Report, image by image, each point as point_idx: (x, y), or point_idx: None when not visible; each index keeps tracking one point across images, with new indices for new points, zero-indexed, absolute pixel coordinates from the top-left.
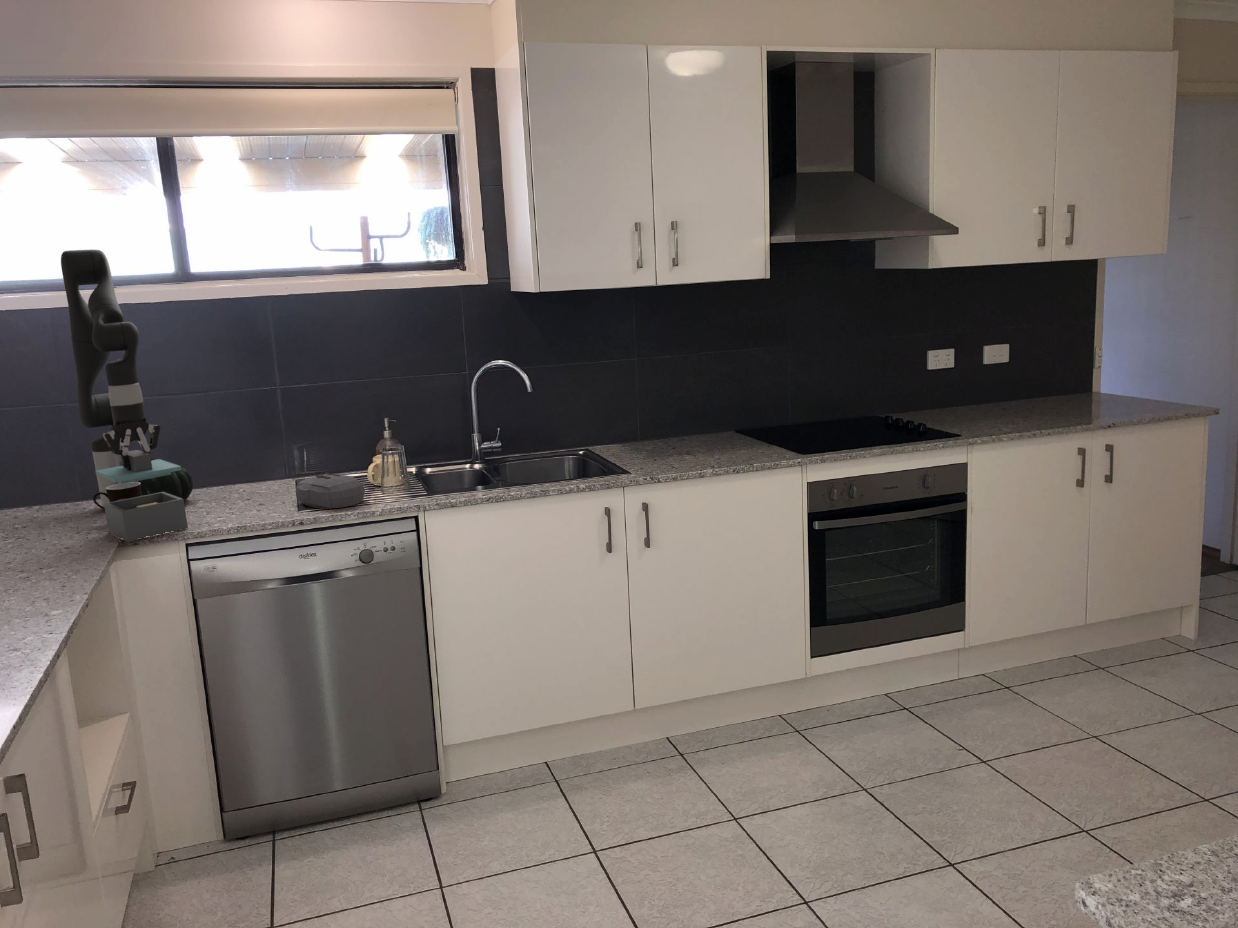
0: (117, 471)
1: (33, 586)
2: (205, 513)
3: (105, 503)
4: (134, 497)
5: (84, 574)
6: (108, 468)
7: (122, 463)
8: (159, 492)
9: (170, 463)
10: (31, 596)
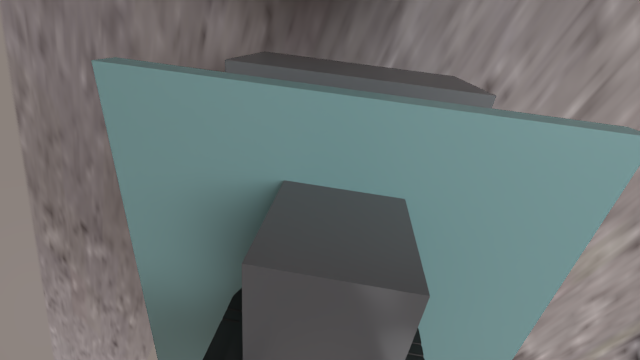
0: (212, 259)
1: (75, 309)
2: (572, 112)
3: (230, 67)
4: (357, 78)
5: (146, 323)
6: (192, 85)
7: (226, 314)
8: (476, 93)
9: (507, 353)
10: (75, 343)
